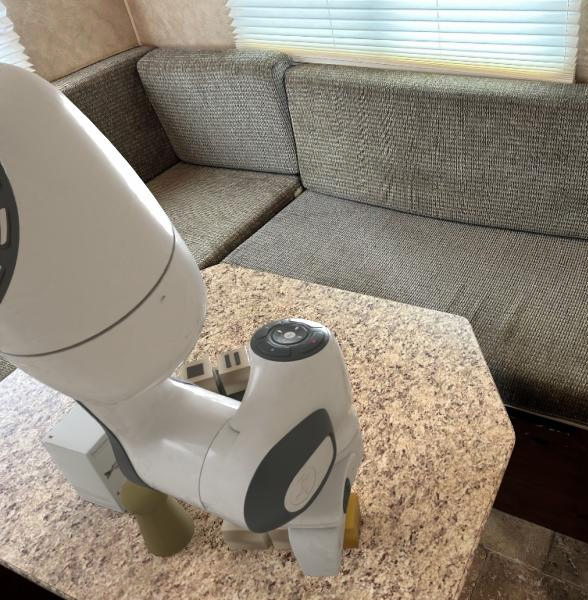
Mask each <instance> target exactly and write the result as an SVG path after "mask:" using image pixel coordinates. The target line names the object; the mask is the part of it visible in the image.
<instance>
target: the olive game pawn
mask: <svg viewBox="0 0 588 600" xmlns="http://www.w3.org/2000/svg"><path fill="white" fill-rule="evenodd" d="M120 496H121V502H122V504H123V505H124V507H125V508H126V510H125V511H127V512H129V513H131V514H132V515H134V517H135V520H136V522H137V525H138V528H139V530H140V534H141V536H142V538H143V542H144V544H145V547H146V549H147V550H148V552H149V553H150V554H152V555H153V556H155V557H158V558H165V557H166V558H167V557H171V556H174V555H175V554H176V555H177V554H178V553H180V552H182V550H184V549H185V548H186V547H188V545H189V544H190V542H191V541H192V539H193V537H194V535H195V530H196V524H195V519H194V518H193V517H192V516H191V515H190V513H189V512H188V511H187V510H186V509H185V508H184V507H183V506H182V505H181V504H180V502H179V500H178V499H176V498H174V497H172V496H169V495H167V494H165V493H161V492H158V491H155V490H152V489H149V488H146V487H143V486H140V485H137V484H134V483H132V482H131V481H129V480H128V479H127V480H126V481H125V482H124V484H123V486H122V489H121V493H120Z"/></svg>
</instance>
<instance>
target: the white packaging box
mask: <svg viewBox="0 0 588 600" xmlns="http://www.w3.org/2000/svg"><path fill="white" fill-rule="evenodd" d="M40 443H41V445H42V446H43V448H44V449H45V450H46V452H47V453H48V455H49V456H50V457H51V459H52V460H53V461H54V463H55V464H56V466H57V467H58V469H59V470H60V472H61V473H62V474H63V476H64V477H65V478H66V480H67V481H68V483H69V484H70V485H71V487H72V488H73V490H74V491H75V492H76V494H77V496H79V498H80V499H81V500H83V501H85V502H88V503H91V504H94V505H97V506H100V507H103V508H105V509H109V510H112V511H114V512H118V513H120V514H124V513H125V512H126V511H127V510H126V508H125V507H124V505H123V504H122V502H121V496H120V493H121V489H122V486H123V484H124V482H125V481H126V480H127V478H126V477H125V476H124V475H123V473H122V472H121V470H120V468H119V466H118V464H117V462H116V459H115V456H114V453H113V450H112V446H111V444H110V441H109V438H108V436H107V434H106V433H105V431H104V429H103V428H102V427H101V426H100V424H99V423H98V422H97V421H96V420H95V419H94V418H93V417H91V416H90V415H89V414H88V413H87V412H86V411H85V410H84V409H83V408H82V407H81V406H80V405H79V404H78V403H77V402H76V404H75V405H74V406H73V407H72V408H71V409H70V410H69V411H68V412H67V413H66V414H65V415H64V416H63V417H62V418H61V419H60V420H59V421H58V422H57V423H56V424H55V425H54V426H53V428H51V429H50V430H49V431H48V432H47V433H46V435H44V437H42V438H41V439H40Z"/></svg>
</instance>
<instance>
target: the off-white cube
mask: <svg viewBox="0 0 588 600" xmlns="http://www.w3.org/2000/svg"><path fill="white" fill-rule="evenodd" d="M222 520H223V521H222V525H221V528H220V532H221V535H222V537H223V538H224V540H225V542H226V545H227V546H228V548H229V551H259V550H261V551H262V550H264V551H265V550H268V549H269V544H270V540H271V538H270V536H269V533H268V532H265V533H254V532H252V531H251V530H248V529H245V528H243V527H240V526H238V525H236V524H233V523H231V522H229V521H226V520H224V519H222Z"/></svg>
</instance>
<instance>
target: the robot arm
mask: <svg viewBox="0 0 588 600" xmlns="http://www.w3.org/2000/svg"><path fill="white" fill-rule="evenodd" d="M208 306H209V299H208V293H207V289H206V285H205V282H204V278H203V276H202V273H201V270H200V268H199V265H198V263H197V261H196V259H195V257H194V255H193V254H192V252H191V250H190V248H189V247H188V245H187V244H186V242H185V240H184V239H183V238H182V236H181V235H180V232H179V231H178V230H177V229H176V227H175V224H173V222H172V221H171V219H170V218H169V216H168V215H167V213H166V212H165V210H164V209H163V208H162V207H161V204H159V202H158V200H157V199H156V198H155V196H154V195H153V193H152V192H151V191H150V189H149V188H148V187H147V185H146V184H145V183H144V181H143V180H142V179H141V178H140V177H139V175H138V173H136V171H135V170H134V168H133V167H132V166H131V165H130V164H129V162H128V161H127V160H126V159H125V157H123V156H122V154H121V153H120V152H119V150H117V148H116V147H115V146H114V144H113V143H111V141H110V140H109V139H108V138H107V137H106V135H104V133H102V132H101V131H100V130H99V128H97V127H96V125H95V124H94V123H93V122H92V121H91V120H90V119H89V118H88V116H86V115H85V114H84V113H83V112H82V111H81V110H80V109H79V108H78V107H77V106H76V105H75V104H74V103H73V102H72V101H71V100H70V99H69V98H68V97H67V96H66V95H65V94H64V93H63V92H62V91H61V90H60V89H58V88H57V87H56V86H55V85H54V84H52V83H51V82H49V81H48V80H47V79H45V78H43V77H42V76H40V75H38V74H37V73H35V72H33V71H30V70H28V69H26V68H23V67H21V66H17V65H15V64H10V63H6V62H2V61H0V356H1V358H3V359H5V360H6V361H7V362H8V363H10V364H11V365H13V366H14V367H15V368H17V369H18V370H20V371H21V372H23V373H24V374H26V375H28V376H29V377H31V378H33V379H34V380H36V381H37V382H39V383H41V384H43V385H44V386H46V387H48V388H50V389H51V390H54V391H56V392H57V393H59V394H62V395H64V396H66V397H69V398H71V399H72V400H74V401H75V403H76V404H77V403H78V404H79V405H80V406H81V407H82V408H83V409H84V410H85V411H86V412H87V413H88V414H89V415H90V416H91V417H93V418H94V419H95V420H96V421H97V422H98V423H99V424H100V426H101V427H102V428H103V429H104V431H105V433H106V434H107V436H108V438H109V441H110V444H111V446H112V450H113V453H114V456H115V459H116V462H117V464H118V466H119V468H120V470H121V472H122V473H123V475H124V476H125V477H126V478H127V479H128V480H129V481H131V482H132V483H134V484H137V485H140V486H143V487H146V488H149V489H152V490H155V491H158V492H161V493H165V494H167V495H169V496H172V497H174V498H175V499H176V500H177V501H181V502H183V503H186V504H187V505H190V506H192V507H193V508H196V509H199V510H201V511H203V512H205V513H207V514H210V515H213V516H215V517H218V518H220V519H222V520H226V521H229V522H231V523H233V524H236V525H238V526H240V527H243V528H245V529H248V530H251V531H252V532H254V533H265V532H269V531H272V530H275V529H277V528H279V527H288V535H289V541H290V544H291V548H292V549H291V550H292V553H293V555H294V557H295V559H296V562H297V564H298V567H299V568H300V570H301V572H302V573H303V574H304V575H305V576H306V577H312V578H330V577H335V576H338V574H339V573H340V572H341V570H342V559H343V556H344V548H343V546H344V545H343V541H344V531H345V521H346V513H347V507H348V501H349V496H350V493H352V492H351V491H352V487H353V485H354V481H355V479H356V477H357V476H356V475H357V472H358V468H359V467H360V465H361V463H362V461H363V458H364V453H365V447H364V441H363V436H362V431H361V426H360V422H359V417H358V412H357V410H356V407H355V406H354V404H353V402H352V401H353V388H352V387H353V386H352V383H351V378H350V373H349V369H348V365H347V362H346V360H345V359H346V358H345V356H344V353H343V350H342V348H341V346H340V344H339V341H338V340H337V338H336V336H335V335H334V334H333V332H332V331H331V330H330V329H329V328H328V327H327V326H325V325H324V324H322V323H319V322H316V321H313V320H309V319H305V318H297V317H295V318H294V317H290V318H282V319H278V320H274V321H271V322H269V323H267V324H264V325H262V326H261V327H259V328H258V329H257V330H255V332H253V334H252V335H251V337H250V339H249V341H248V349H247V352H248V355H249V363H250V376H249V381H248V385H247V388H246V391H245V394H244V397H243V400H242V402H240V401H237V400H234V399H231V398H228V397H225V396H223V395H220V394H217V393H214V392H211V391H208V390H206V389H204V388H202V387H200V386H198V385H196V384H193V383H191V382H188V381H186V380H183V379H180V377H175V376H173V375H174V374H175V372H177V371H178V370H179V367H180V366H181V365H182V364H185V362H186V361H187V359H188V358H189V357H190V355H191V354H192V352H193V350H194V349H195V347H196V345H197V344H198V341H199V339H200V338H201V335H202V332H203V329H204V326H205V323H206V318H207V312H208Z"/></svg>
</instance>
